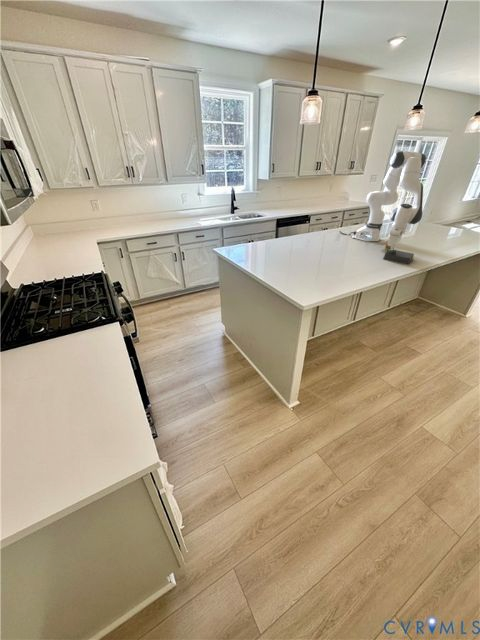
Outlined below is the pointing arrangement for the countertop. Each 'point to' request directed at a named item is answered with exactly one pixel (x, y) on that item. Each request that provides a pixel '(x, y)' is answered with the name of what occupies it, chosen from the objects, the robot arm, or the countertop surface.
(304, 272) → the countertop surface
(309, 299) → the countertop surface
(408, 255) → the control panel
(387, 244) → the condiment
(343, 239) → the countertop surface
